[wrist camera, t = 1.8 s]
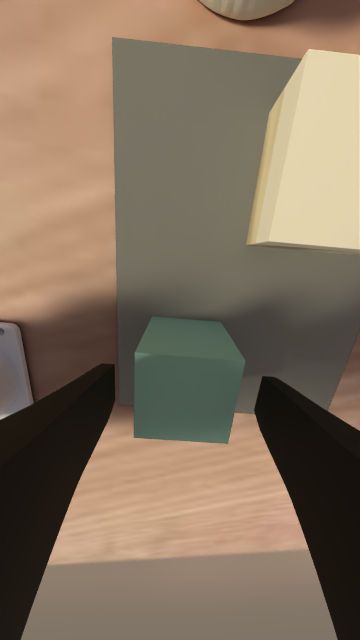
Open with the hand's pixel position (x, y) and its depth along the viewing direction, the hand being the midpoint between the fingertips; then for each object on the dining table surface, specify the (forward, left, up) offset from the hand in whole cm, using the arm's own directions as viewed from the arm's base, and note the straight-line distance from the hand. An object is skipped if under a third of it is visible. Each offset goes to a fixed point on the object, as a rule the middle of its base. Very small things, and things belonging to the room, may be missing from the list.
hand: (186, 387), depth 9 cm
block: (0, 0, -4) cm, 4 cm away
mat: (+3, +5, -4) cm, 7 cm away
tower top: (+6, +10, -3) cm, 12 cm away
